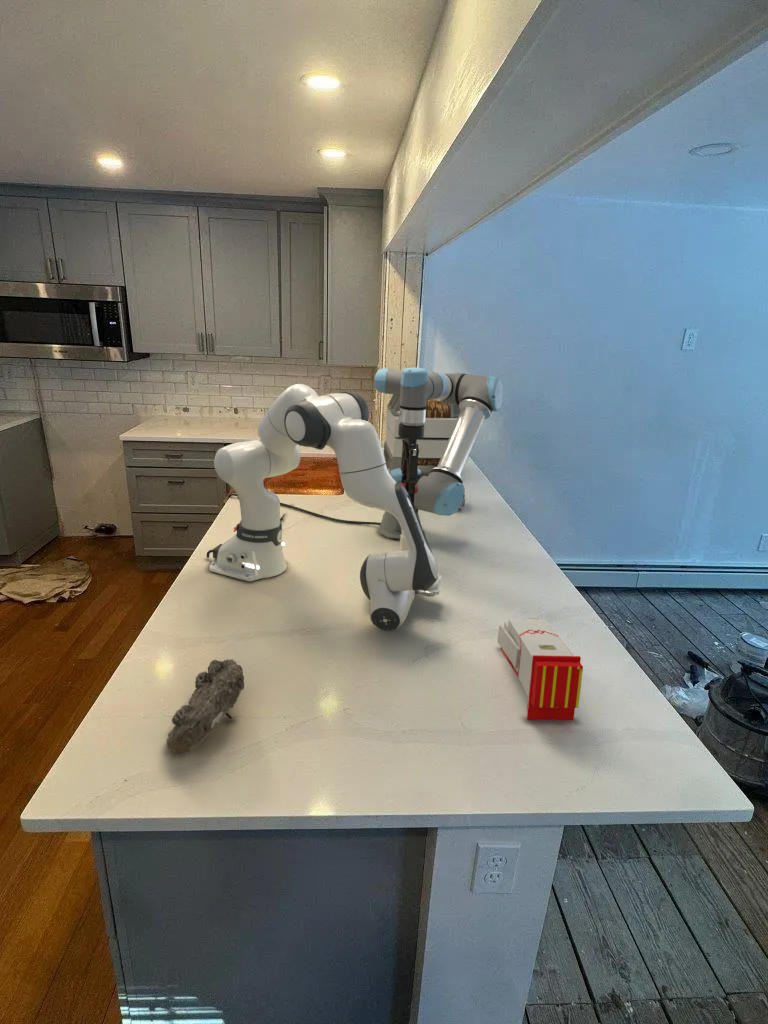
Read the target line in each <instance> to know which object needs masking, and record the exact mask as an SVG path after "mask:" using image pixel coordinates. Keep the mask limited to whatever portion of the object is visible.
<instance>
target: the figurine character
mask: <svg viewBox="0 0 768 1024" xmlns="http://www.w3.org/2000/svg"><path fill="white" fill-rule="evenodd" d="M465 496H466V494H464V496H463V497H464V499H463V502H462V504H461V506H460V507H459V509H458V511H461V510H462V509H461V508H465V505H466V497H465Z"/></svg>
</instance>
